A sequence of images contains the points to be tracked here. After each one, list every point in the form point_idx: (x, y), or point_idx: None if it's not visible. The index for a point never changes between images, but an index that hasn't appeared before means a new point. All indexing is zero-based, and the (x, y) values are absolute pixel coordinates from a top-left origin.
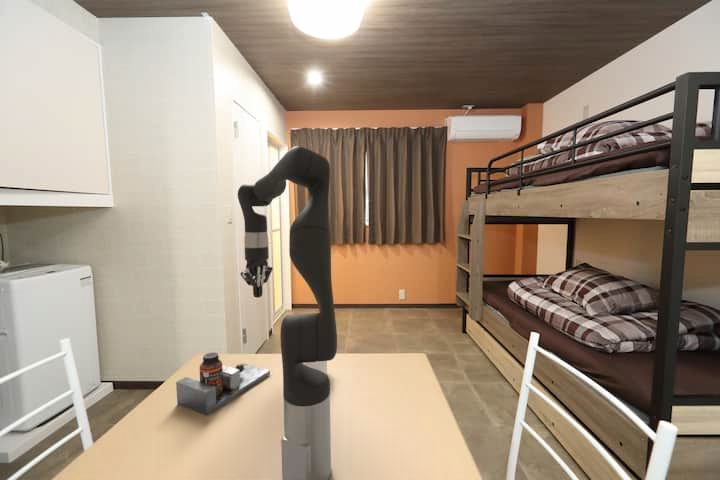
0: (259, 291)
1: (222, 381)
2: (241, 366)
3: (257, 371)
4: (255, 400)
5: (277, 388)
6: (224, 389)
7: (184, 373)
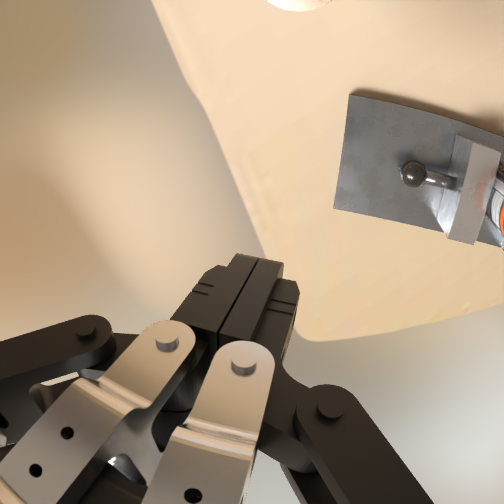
0: (256, 293)
1: (500, 172)
2: (418, 166)
3: (368, 129)
4: (474, 68)
5: (407, 34)
6: None
7: (396, 322)
